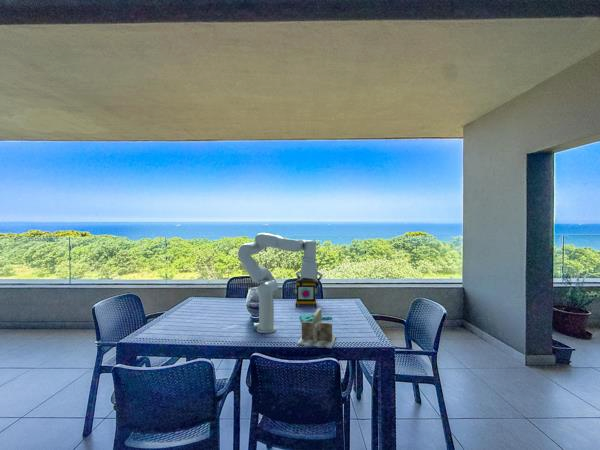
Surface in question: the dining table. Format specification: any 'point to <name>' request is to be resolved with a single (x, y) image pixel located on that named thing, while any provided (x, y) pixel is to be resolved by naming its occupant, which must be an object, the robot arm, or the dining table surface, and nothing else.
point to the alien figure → (310, 317)
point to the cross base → (319, 343)
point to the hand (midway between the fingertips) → (308, 287)
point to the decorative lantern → (306, 292)
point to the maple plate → (316, 323)
